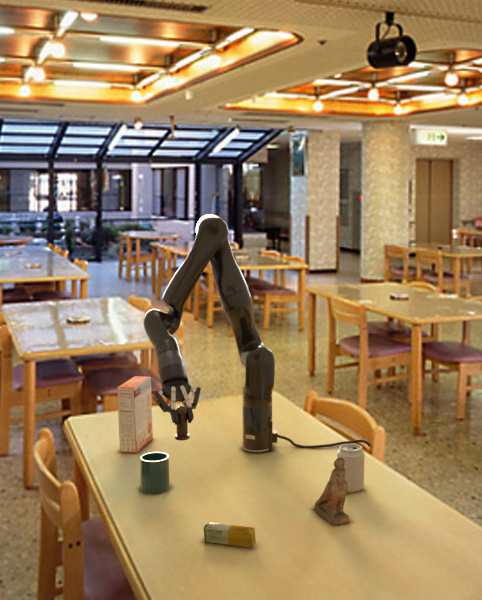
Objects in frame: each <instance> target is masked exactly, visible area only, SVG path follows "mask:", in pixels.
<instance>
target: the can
mask: <svg viewBox="0 0 482 600" xmlns="http://www.w3.org/2000/svg"><path fill="white" fill-rule="evenodd" d="M365 454H366V453H365V451H364V450H363V446H362V445H360V444H359V443H358V444H357V443H351V444H341V445H339V449H338V450H337V451H336V459H338V458H343V459H344V460H345V462H344V468H345V471H346V472H345V480H346V482H347V484H348V492H347V494H348V493H349V494H350V493H351V494H352V493H358V492H360V491H361V490H362V489H363V488H364V486H365Z"/></svg>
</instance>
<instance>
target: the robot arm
mask: <svg viewBox="0 0 482 600" xmlns="http://www.w3.org/2000/svg"><path fill="white" fill-rule="evenodd" d="M195 233H196V235H195V239H194V241H193V243H192V246H191V248H190V251H189V252H188V254H187V256H186V258H185V259H184V261H183V262H182V264H181V265H180V266H179V268H178V269H177V270H176V272H175V273H174V275H173V277H172V278H171V279H170V282H169V283H168V285H167V286H166V289H165V291H164V293H163V295H162V297H161V300H162V301H163V303H164V304H166V305H167V306H168V308H167V309H168V310H167V312H166V311H164V310H160V309H157V308H152V309H149V310H148V311H147V312H146V313H145V314H144V316H143V328H144V332H145V333H146V335H147V337H148V339H149V341H150V343H151V345H152V346H153V348H154V353H155V357H156V365H157V366H156V367H157V372H158V376H159V380H160V385H161V390H160V391H154V394H153V397H152V399H153V400H154V401H155V402H156V404H157V406H158V407H159V408H160V409H161V411H162V412H163V413H169V414H170V417H171V422H172V424H174V425H175V426H177V425H178V423H179V419H178V414H177V410H176V403H177V402H181V404H182V406H184V407H186V408H187V411H188V413H187V424H192V422H193V421H194V418H195V416H194V412H193V410H196V409H197V406H198V403H199V399H200V395H201V391H202V388H201V387H200V386H197V387H194V386H192V384H190V382H189V378H188V374H187V370H186V366H185V361H184V359H183V356H182V353H181V349H180V345H179V344H180V343H179V341H178V339H177V338H176V337H175V336H174V335H175V334H176V333H177V332H178V331H179V328H180V326H181V322H182V317H183V314H184V311H185V306H186V304H187V302H188V301H189V298H190V297H191V295H192V293H193V292H194V289H195V288H196V285H197V284H198V282H199V280H200V278H201V276H202V274H203V272H204V271H205V269H206V267H207V266H208V265H210V269H211V273H212V277H213V281H214V285H215V286H214V287H215V290H216V292H217V295H218V299H219V302H220V305H221V308H222V310H223V312H224V314H225V317H226V319H227V322H228V324H229V326H230V328H231V330H232V333H233V336H234V339H235V343H236V347H237V352H238V356H239V360H240V363H241V366H242V367H243V368H244V369H245V375H244V376H245V377H244V379H245V381H244V385H243V386H242V450H243V451H245V452H248V453H256V454H257V453H266V452H270V451H273V444H276V443H277V444H278V438H279V439H282V440H285V441H287V442H288V443H290V444H291V445H292V446H294V447H295V448H302V449H319V448H331V447H335V446H341V445H343V444H357V443H358V444H359V443H364V444H366V446H372V445H371V443H370V442H369V441H367V440H365V439H354V440H345V441H339V442H334V443H326V444H315V445H314V444H313V445H304V444H303V445H302V444H299V443H296V442H295V441H293V440H292V439H291V438H289V437H287V436H284V435H280V434H278V429H277V428H273V390H274V386H275V375H276V374H275V372H276V360H275V355H274V353H273V352H272V350H271V349H269V348H268V347H267V346H266V345H265V344H264V342H263V341H262V338H261V336H260V333H259V330H258V329H257V326H256V321H255V311H254V310H255V309H254V304H253V298H252V296H251V293H250V290H249V286H248V284H247V282H246V279H245V277H244V275H243V272H242V270H241V269H240V267H239V265H238V263H237V261H236V259H235V257H234V254H233V251H232V248H231V243H230V240H229V227H228V224H227V222H226V221H225V220H224V218H222V217H221V216H219V215H217V214H212V213H207V214H205V215H203V216H201V217H200V218H199V220H198V221H197V223H196V226H195ZM190 393H191V395H192V396H193V400H192V402H191V399H190V397H189V395H190ZM163 397H165V398H166V399H167V400H168V403H167V401H166V400H165V399H164V398H163Z"/></svg>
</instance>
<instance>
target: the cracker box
mask: <svg viewBox="0 0 482 600" xmlns="http://www.w3.org/2000/svg"><path fill="white" fill-rule="evenodd" d="M116 393H117V412H118V413H117V414H118V416H117V417H118V436H119V437H118V438H119V453H134V454H137V453H138V452H140V450H142V449H143V448H145V446H146V445H147V444H149V443H150V442H151V441H152V440H153V439H154V431H153V402H152V399H153V397H152V378H151V376H141V375H134V376H133V377H131V378H129V379H128V380H127V381H125V382H124V383H122V384H121V385H119V386H117V387H116Z"/></svg>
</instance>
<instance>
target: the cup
mask: <svg viewBox="0 0 482 600" xmlns="http://www.w3.org/2000/svg"><path fill="white" fill-rule="evenodd" d="M139 480H140V481H139V482H140V483H139V484H140V491H141V492H142V493H144V494H147V495H148V494H149V495H156V494H162V493H165V492H167V491H169V489H170V483H171V482H170V454H168V453H166V452H162V451H152V452H151V451H150V452H146V453H143V454H142V455H140V457H139Z"/></svg>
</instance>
